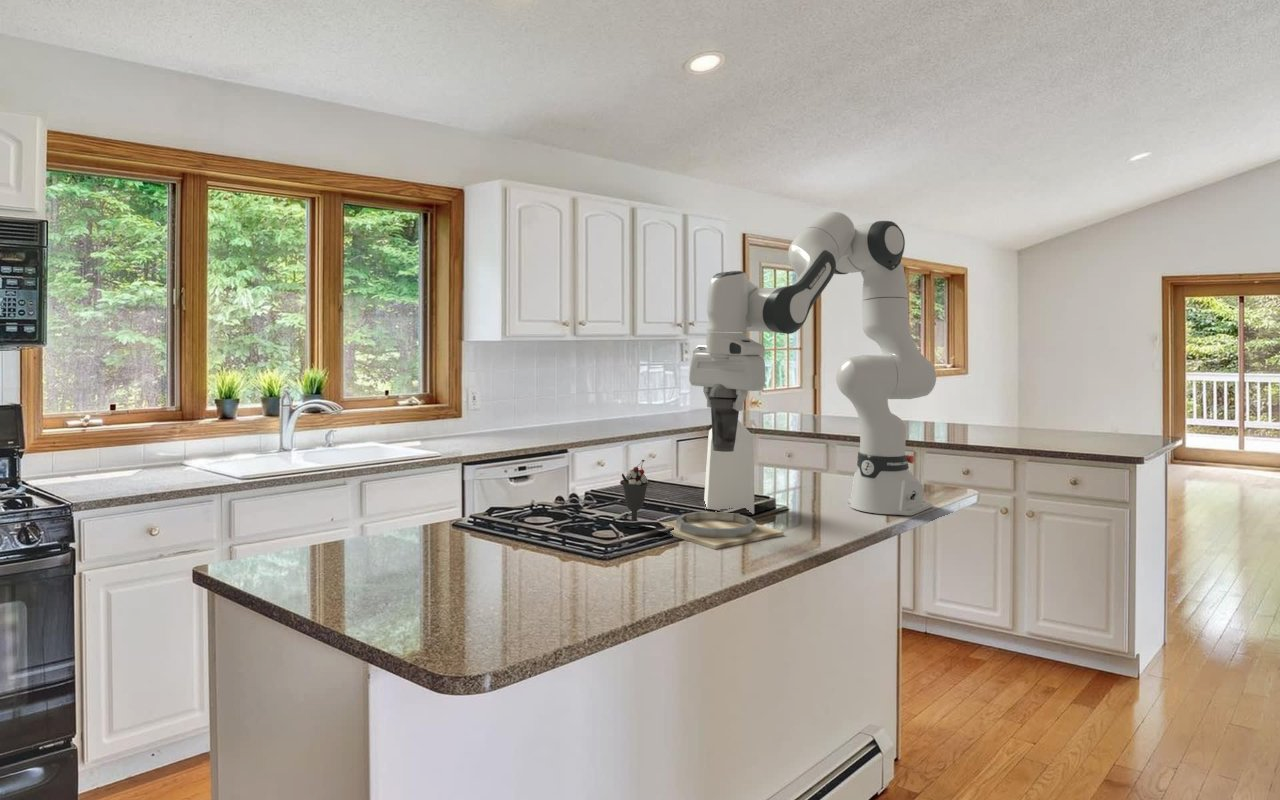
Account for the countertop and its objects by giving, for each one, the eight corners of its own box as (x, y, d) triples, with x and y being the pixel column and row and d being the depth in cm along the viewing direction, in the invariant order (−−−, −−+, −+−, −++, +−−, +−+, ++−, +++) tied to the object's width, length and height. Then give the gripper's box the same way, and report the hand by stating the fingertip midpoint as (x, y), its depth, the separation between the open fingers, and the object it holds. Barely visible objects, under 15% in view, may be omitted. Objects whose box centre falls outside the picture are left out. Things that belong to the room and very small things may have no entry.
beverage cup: (741, 453, 186) (745, 360, 185) (707, 451, 186) (711, 359, 185) (738, 449, 194) (742, 359, 192) (705, 447, 194) (709, 358, 192)
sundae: (653, 524, 196) (655, 459, 195) (641, 531, 190) (642, 463, 189) (627, 521, 199) (629, 456, 198) (614, 527, 193) (615, 460, 192)
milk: (754, 513, 210) (758, 407, 208) (706, 512, 210) (710, 406, 208) (748, 503, 222) (752, 402, 220) (704, 502, 222) (707, 401, 220)
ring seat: (716, 516, 206) (716, 505, 206) (783, 535, 190) (784, 523, 190) (649, 528, 193) (649, 516, 193) (714, 549, 177) (715, 536, 176)
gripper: (683, 344, 194) (682, 405, 195) (750, 347, 178) (748, 413, 179) (704, 344, 198) (702, 404, 199) (770, 347, 182) (768, 412, 183)
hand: (724, 409), depth 189 cm, fingers closed on beverage cup, 6 cm apart
